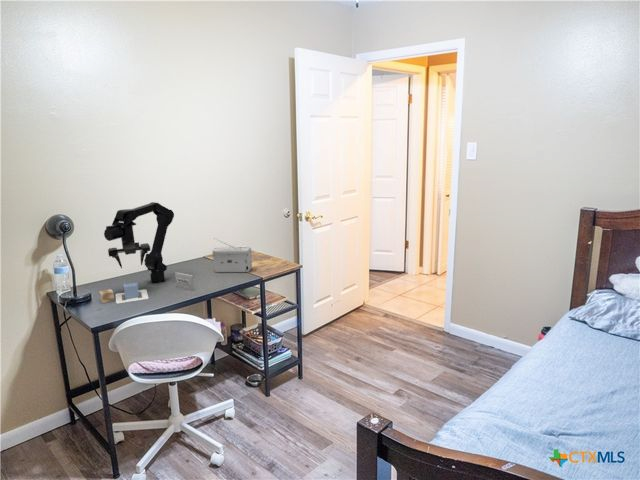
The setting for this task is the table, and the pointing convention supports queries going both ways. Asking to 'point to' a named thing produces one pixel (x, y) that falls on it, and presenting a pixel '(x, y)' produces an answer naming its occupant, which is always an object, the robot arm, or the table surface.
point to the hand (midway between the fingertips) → (131, 266)
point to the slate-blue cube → (131, 290)
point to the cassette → (183, 284)
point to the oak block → (106, 296)
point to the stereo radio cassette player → (232, 259)
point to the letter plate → (121, 298)
